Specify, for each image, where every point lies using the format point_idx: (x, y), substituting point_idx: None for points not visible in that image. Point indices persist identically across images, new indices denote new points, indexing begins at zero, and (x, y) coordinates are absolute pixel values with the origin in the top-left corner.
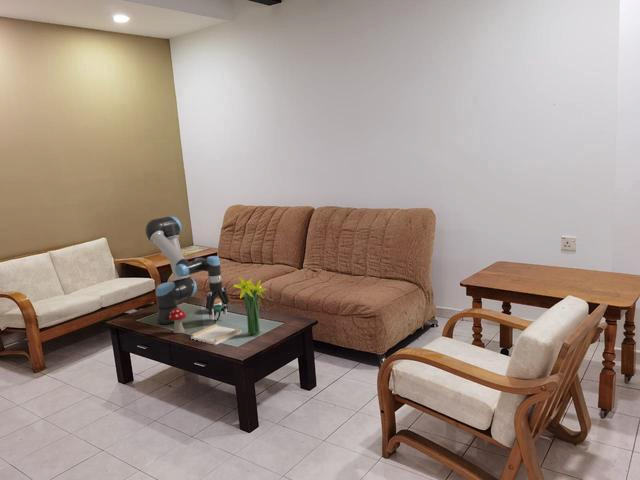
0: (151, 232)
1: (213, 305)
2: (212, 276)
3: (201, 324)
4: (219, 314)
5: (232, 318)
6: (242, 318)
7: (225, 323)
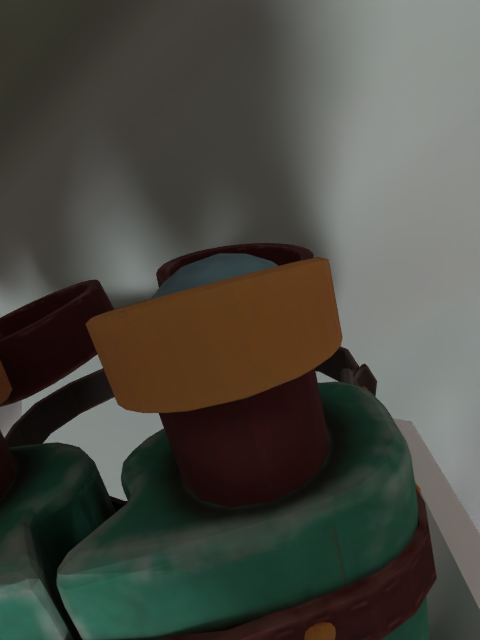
0: None
1: (234, 398)
2: None
3: (9, 95)
4: (327, 364)
5: (443, 464)
6: None
7: None
